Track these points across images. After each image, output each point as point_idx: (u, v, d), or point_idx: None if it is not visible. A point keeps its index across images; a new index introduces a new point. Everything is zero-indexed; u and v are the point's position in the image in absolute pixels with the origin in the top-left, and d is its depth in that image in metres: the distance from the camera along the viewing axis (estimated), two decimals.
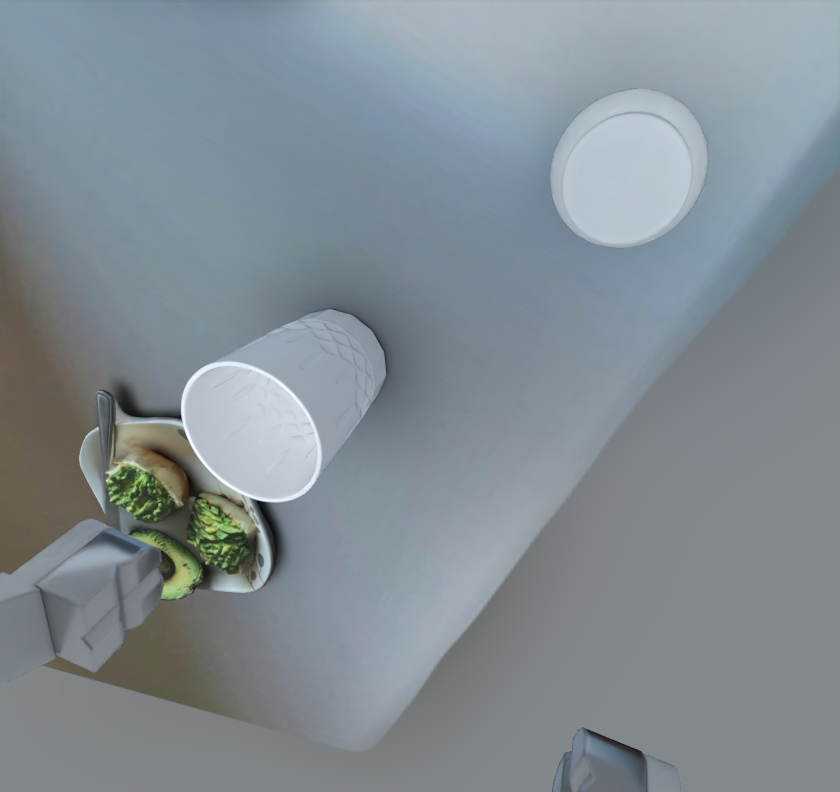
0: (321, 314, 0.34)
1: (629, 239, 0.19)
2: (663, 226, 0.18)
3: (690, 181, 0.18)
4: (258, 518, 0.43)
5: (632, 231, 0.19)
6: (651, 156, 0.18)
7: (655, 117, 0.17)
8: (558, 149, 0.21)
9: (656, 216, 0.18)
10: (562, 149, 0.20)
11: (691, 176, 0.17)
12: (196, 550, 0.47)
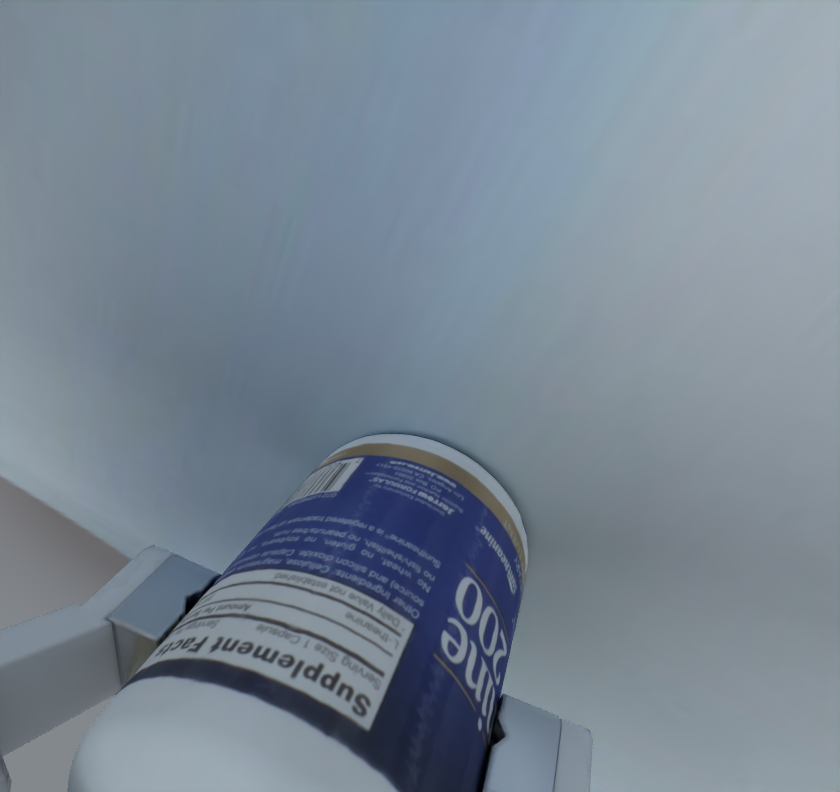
0: None
1: None
2: None
3: None
4: None
5: None
6: None
7: None
8: None
9: None
10: None
11: None
12: None
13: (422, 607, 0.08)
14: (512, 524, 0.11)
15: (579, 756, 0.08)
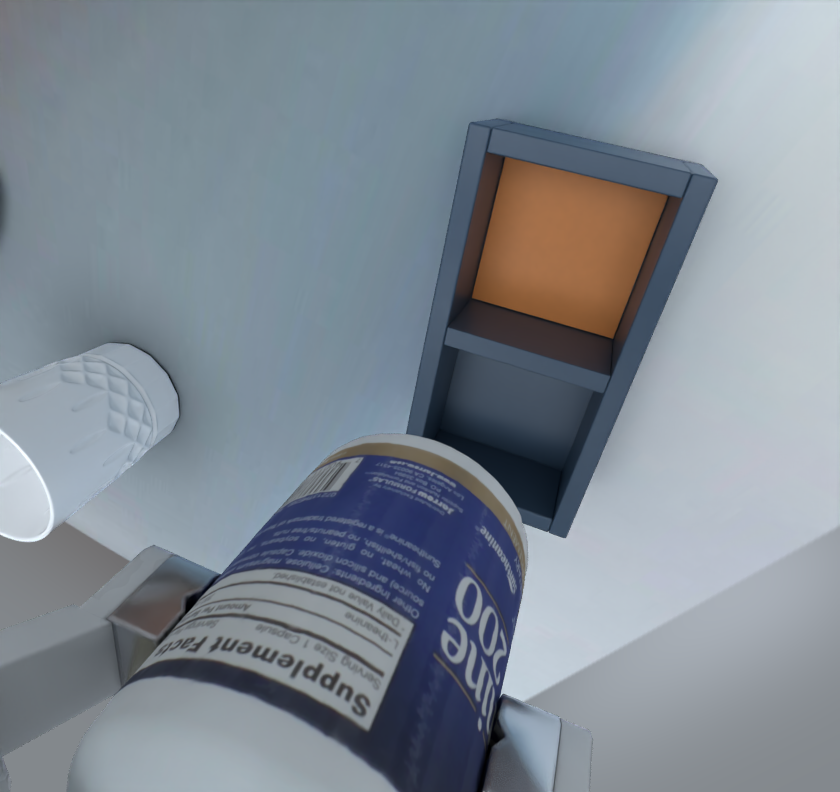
0: (164, 405, 0.34)
1: None
2: None
3: None
4: None
5: None
6: None
7: None
8: None
9: None
10: None
11: None
12: None
13: (422, 606, 0.08)
14: (512, 524, 0.11)
15: (579, 756, 0.08)
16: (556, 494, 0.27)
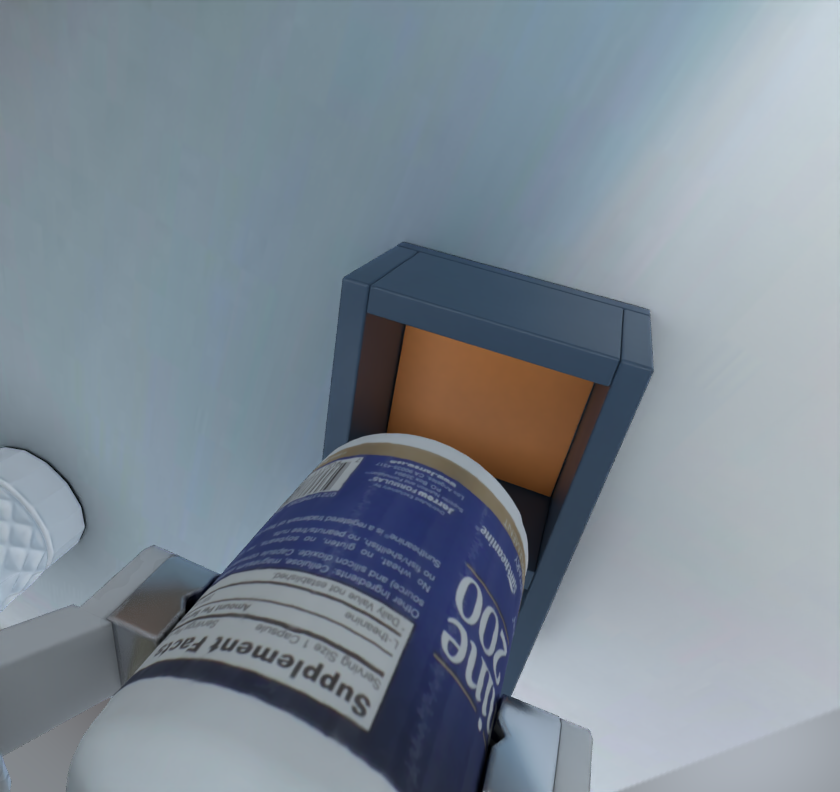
0: (62, 521, 0.30)
1: None
2: None
3: None
4: None
5: None
6: None
7: None
8: None
9: None
10: None
11: None
12: None
13: (422, 606, 0.08)
14: (512, 523, 0.11)
15: (579, 756, 0.08)
16: None
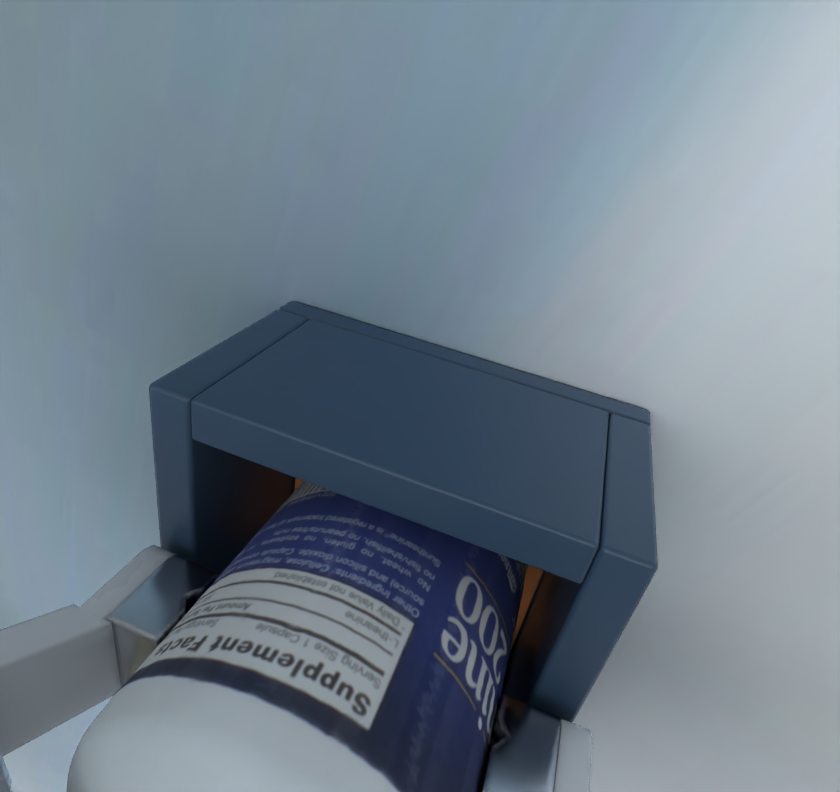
0: None
1: None
2: None
3: None
4: None
5: None
6: None
7: None
8: None
9: None
10: None
11: None
12: None
13: (422, 605, 0.08)
14: None
15: (579, 756, 0.08)
16: None
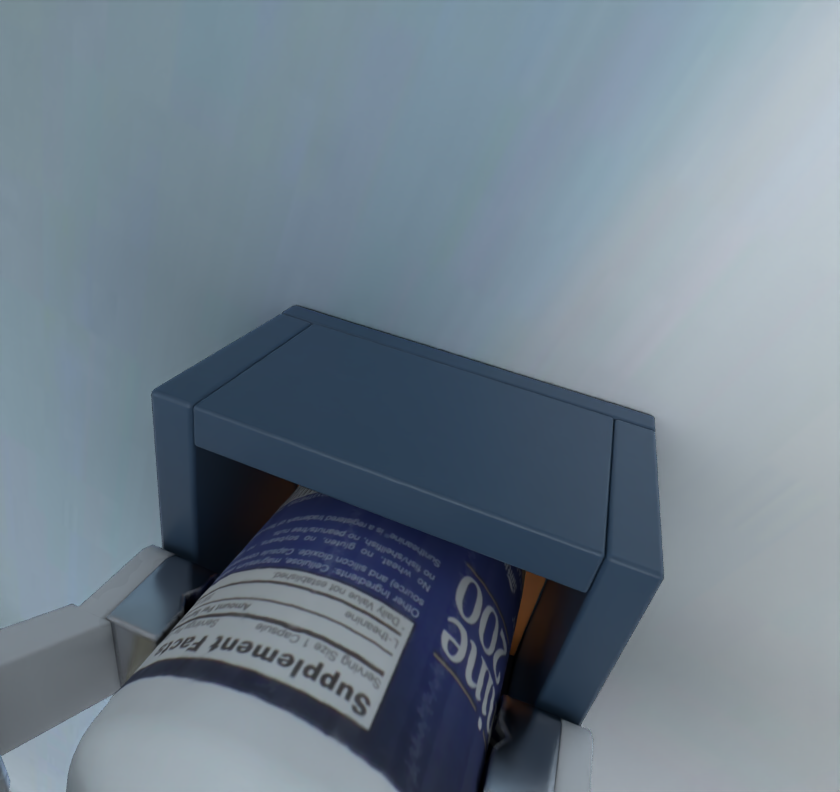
0: None
1: None
2: None
3: None
4: None
5: None
6: None
7: None
8: None
9: None
10: None
11: None
12: None
13: (422, 605, 0.08)
14: None
15: (580, 756, 0.08)
16: None
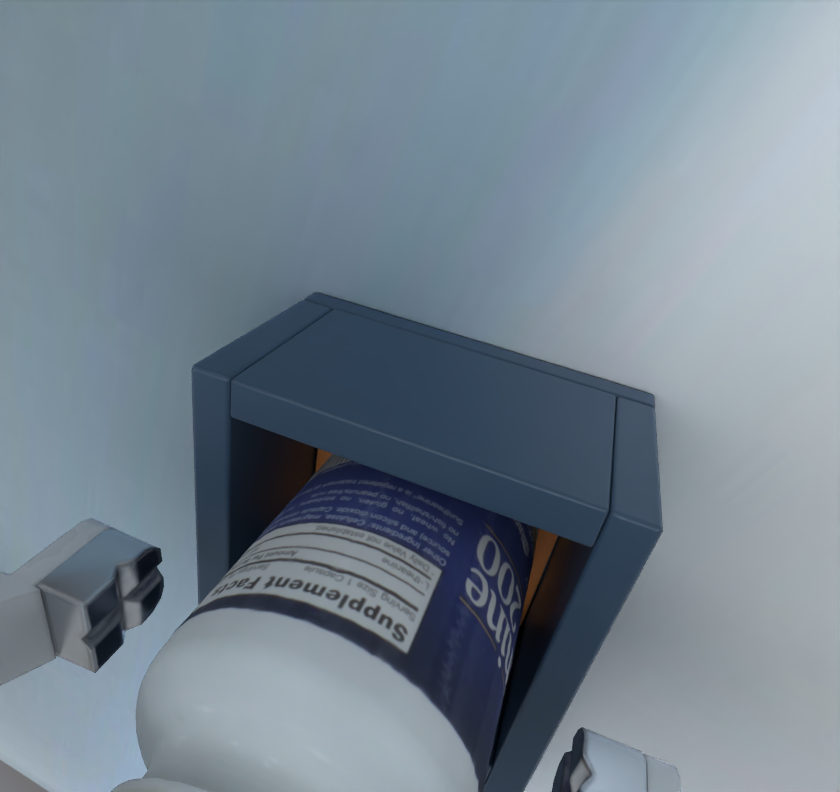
0: None
1: None
2: None
3: None
4: None
5: None
6: None
7: None
8: (318, 698, 0.07)
9: None
10: (315, 718, 0.07)
11: None
12: None
13: (448, 556, 0.09)
14: None
15: None
16: None
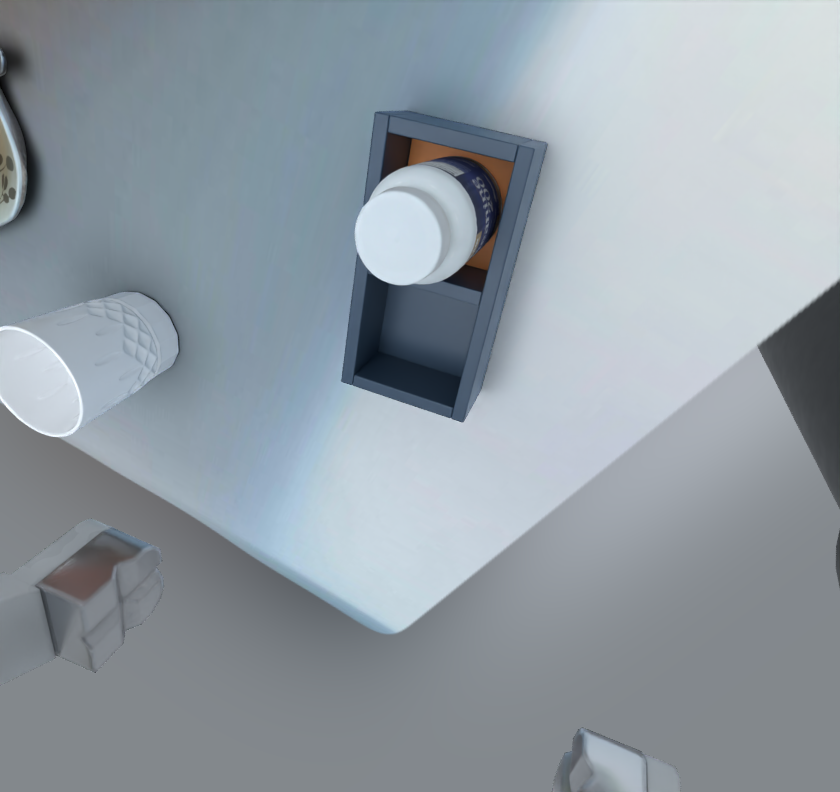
0: (167, 340, 0.43)
1: (359, 247, 0.25)
2: (370, 269, 0.25)
3: (399, 284, 0.25)
4: None
5: (364, 248, 0.25)
6: (414, 257, 0.24)
7: (439, 257, 0.24)
8: (432, 173, 0.25)
9: (376, 264, 0.25)
10: (431, 177, 0.25)
11: (402, 284, 0.25)
12: None
13: (466, 172, 0.27)
14: (495, 185, 0.30)
15: None
16: None
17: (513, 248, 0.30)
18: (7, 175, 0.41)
